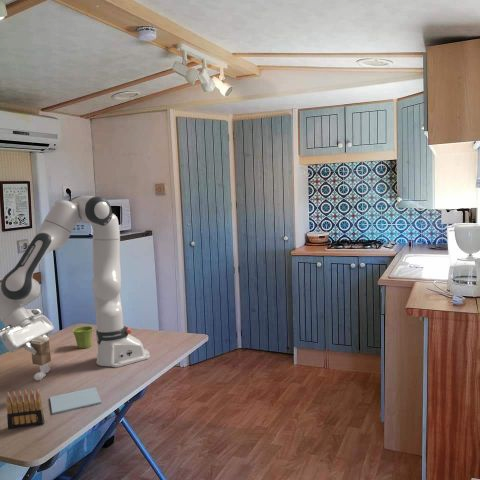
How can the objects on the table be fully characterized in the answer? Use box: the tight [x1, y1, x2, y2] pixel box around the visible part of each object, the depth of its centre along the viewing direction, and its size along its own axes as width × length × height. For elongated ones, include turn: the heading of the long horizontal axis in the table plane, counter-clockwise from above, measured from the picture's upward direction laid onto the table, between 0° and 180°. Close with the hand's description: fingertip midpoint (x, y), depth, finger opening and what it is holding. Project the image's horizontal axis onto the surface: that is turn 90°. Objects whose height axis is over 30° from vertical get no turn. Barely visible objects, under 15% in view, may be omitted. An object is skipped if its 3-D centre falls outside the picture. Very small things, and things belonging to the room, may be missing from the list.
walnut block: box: [30, 336, 52, 366], centre depth 179 cm, size 4×4×9 cm
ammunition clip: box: [5, 388, 45, 430], centre depth 157 cm, size 11×2×12 cm, turn 100°
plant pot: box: [72, 325, 94, 349], centre depth 233 cm, size 9×9×9 cm
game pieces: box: [33, 362, 51, 382], centre depth 200 cm, size 12×3×3 cm, turn 7°
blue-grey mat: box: [49, 386, 102, 415], centre depth 174 cm, size 16×14×1 cm
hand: (42, 350), depth 179 cm, fingers closed on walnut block, 4 cm apart
